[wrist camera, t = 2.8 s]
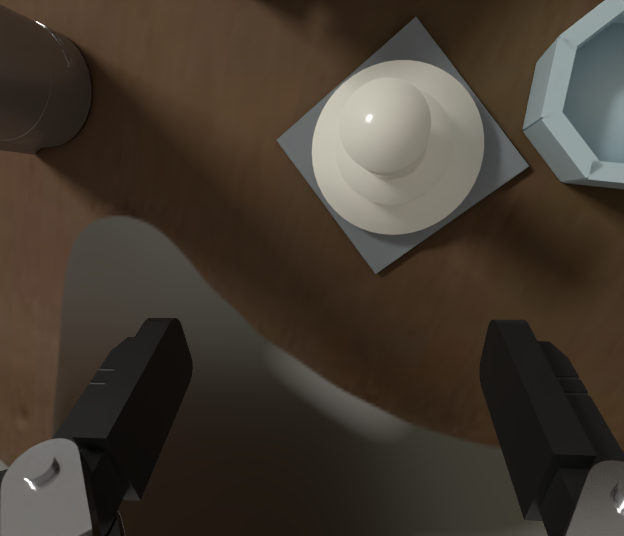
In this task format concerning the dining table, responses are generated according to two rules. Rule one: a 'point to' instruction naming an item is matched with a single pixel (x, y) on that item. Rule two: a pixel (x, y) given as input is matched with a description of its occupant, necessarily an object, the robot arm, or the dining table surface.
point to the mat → (493, 173)
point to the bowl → (582, 101)
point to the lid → (398, 147)
